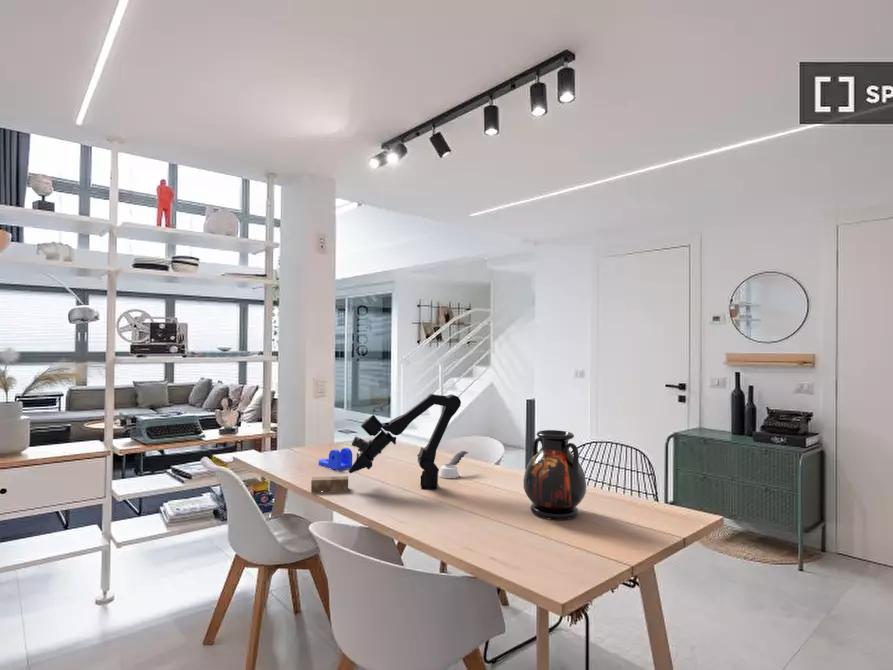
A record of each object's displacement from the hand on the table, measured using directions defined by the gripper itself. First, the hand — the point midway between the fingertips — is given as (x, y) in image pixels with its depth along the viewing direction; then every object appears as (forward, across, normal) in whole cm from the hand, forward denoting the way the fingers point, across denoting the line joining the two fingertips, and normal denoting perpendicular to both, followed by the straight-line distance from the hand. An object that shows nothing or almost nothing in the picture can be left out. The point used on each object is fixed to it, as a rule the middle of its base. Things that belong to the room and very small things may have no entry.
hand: (349, 472), depth 207 cm
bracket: (+11, -42, 0) cm, 43 cm away
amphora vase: (-46, +37, +55) cm, 80 cm away
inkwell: (-28, -21, +38) cm, 51 cm away
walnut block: (+4, 0, +3) cm, 5 cm away
